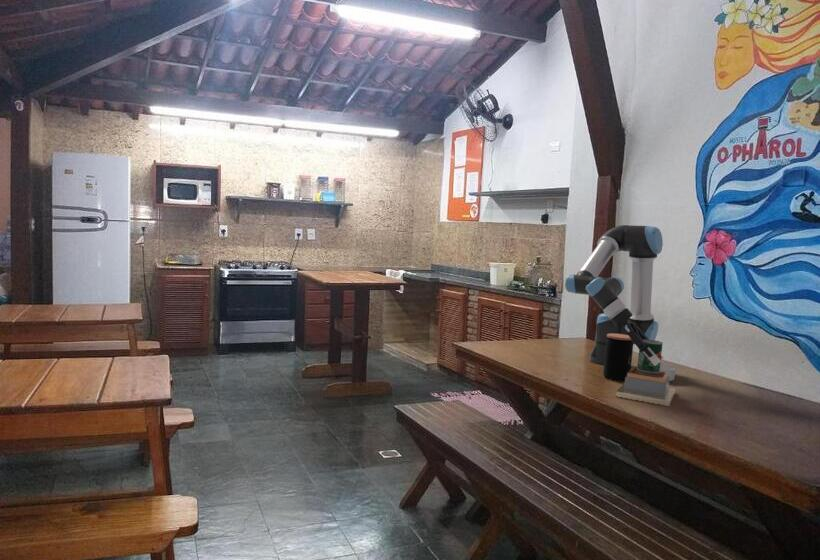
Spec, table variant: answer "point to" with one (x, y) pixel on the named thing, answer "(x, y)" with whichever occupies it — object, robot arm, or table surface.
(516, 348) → the table surface
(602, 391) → the table surface
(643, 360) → the canned tomato
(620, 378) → the coffee jar
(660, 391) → the grey rectangular box
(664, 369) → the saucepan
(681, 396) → the table surface
